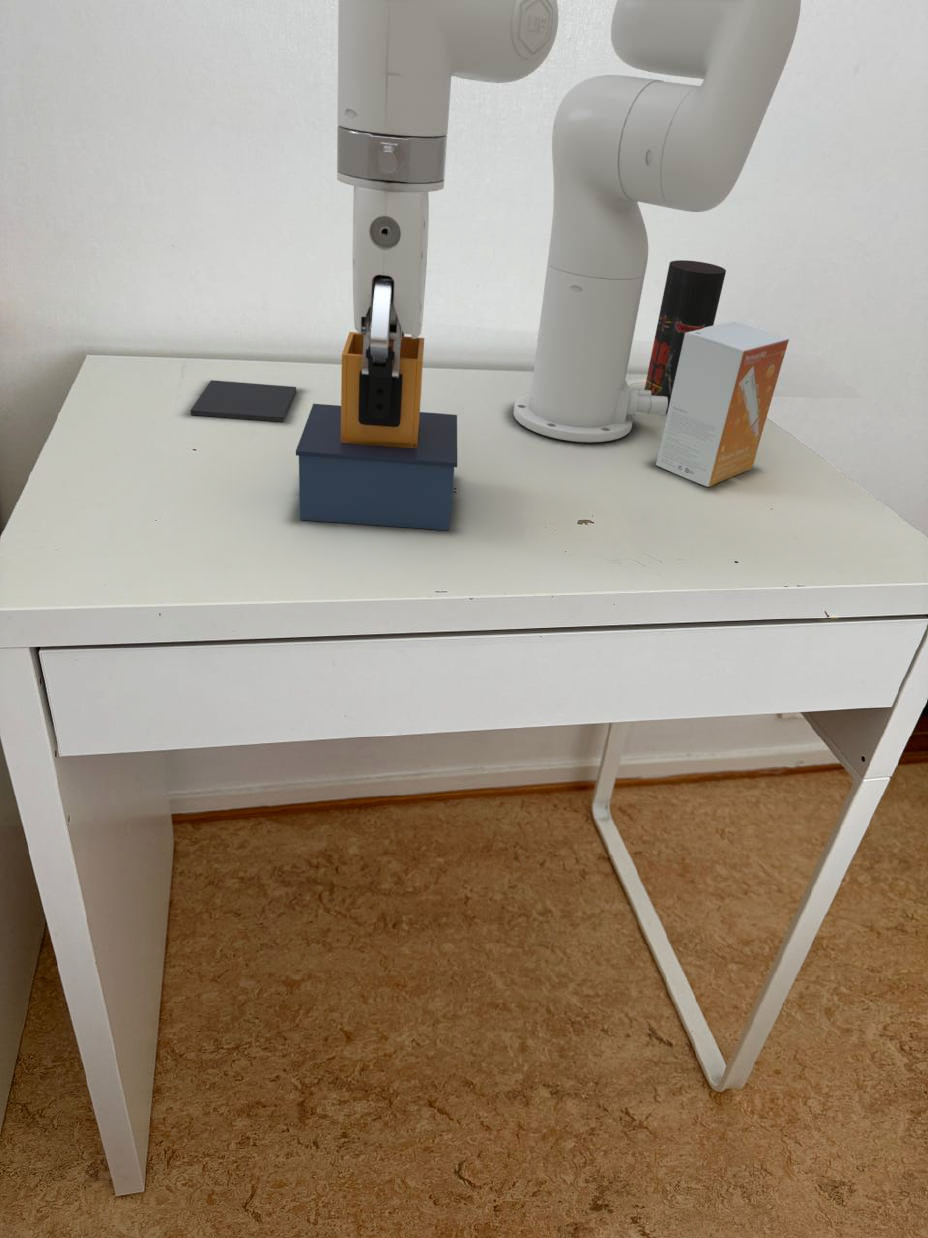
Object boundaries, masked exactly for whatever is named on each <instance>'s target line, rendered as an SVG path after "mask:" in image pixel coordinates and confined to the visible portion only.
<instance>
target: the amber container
mask: <svg viewBox="0 0 928 1238" xmlns="http://www.w3.org/2000/svg"><path fill="white" fill-rule="evenodd" d="M363 338H364V337H363V335H361V334H360V333H359V332H358V331H356V332H354V331H349V332H348V336H347V338H346V341H345V344H344V348H343V351H342V353H341V386H340V387H341V388H340V391H341V393H340V394H341V395H340V396H341V397H340V402H341V403H340V406H341V443H351V444H364V445H377V446H391V447H404V448H417V443H418V431H419V419H420V412H421V403H422V402H421V401H422V384H423V370H424V369H423V368H424V352H425V337H419V336H418V337H417V338H416V339H412V336H407V335H405V336H402V340H401V352H400V369H399V374H403V379H402V399H401V420H400V425H399V426H398V427H387V426H374V425H363V424H360V423H359V420H358V414H359V373H360V371H362V357H363ZM393 345H394V342H389V347H392V349H393ZM392 362H393V360H392Z"/></svg>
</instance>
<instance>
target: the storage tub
mask: <svg viewBox="0 0 928 1238" xmlns="http://www.w3.org/2000/svg"><path fill="white" fill-rule="evenodd" d="M295 456H298V491H299V492H298V493H299V495H298V498H299V500H298V501H299V502H298V503H299V520H300V521H311V522H312V521H313V522H325V523H339V524H353V525H367V526H379V527H396V528H410V529H422V530H423V529H424V530H439V531H450V524H451V514H452V513H451V512H452V502H453V491H454V490H453V488H454V476H455V468H456V469H457V468H458V414H453V413H452V414H451V413H439V412H426V411H420V419H419V431H418V443H417V448H404V447H391V446H377V445H364V444H351V443H341V405H336V404H325V403H324V404H323V403H313V404H312V406H311V408H310V412H309V414H308V416H307V420H306V423H305V425H304V428H303V430H302V433H301V436H300V439H299V441H298V443H297V446H296V449H295Z"/></svg>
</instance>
